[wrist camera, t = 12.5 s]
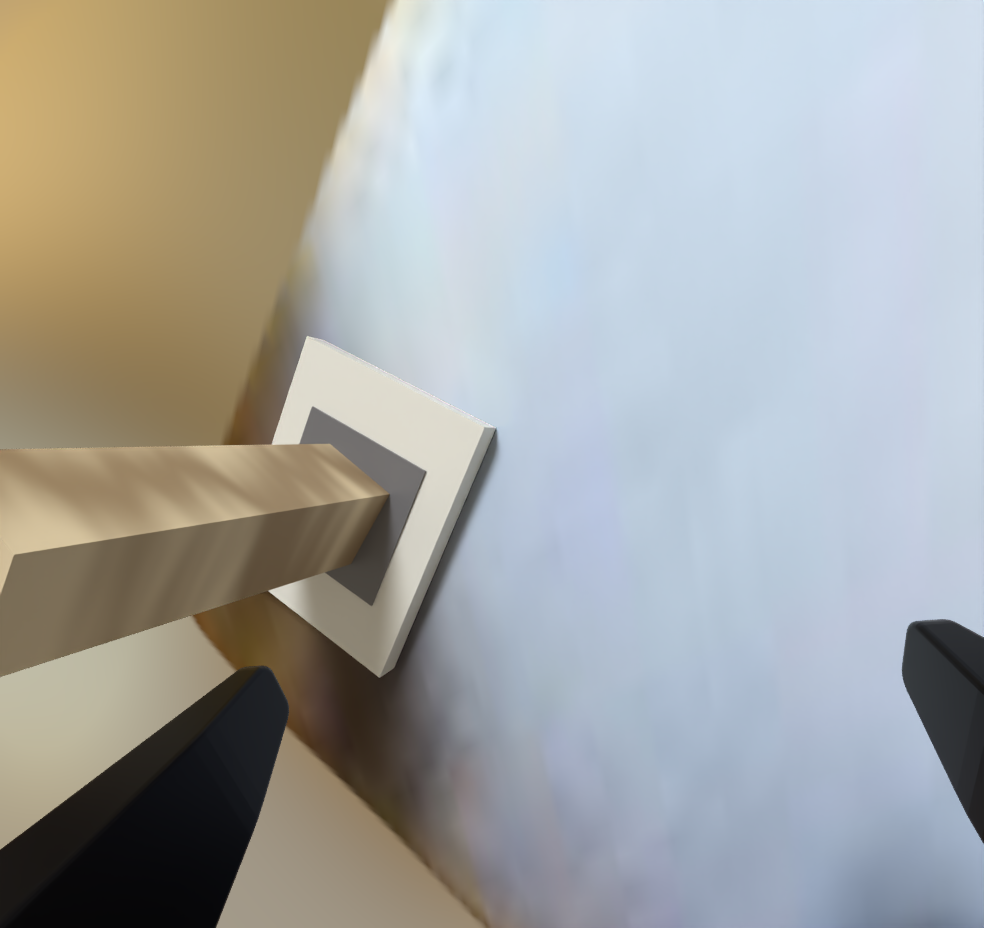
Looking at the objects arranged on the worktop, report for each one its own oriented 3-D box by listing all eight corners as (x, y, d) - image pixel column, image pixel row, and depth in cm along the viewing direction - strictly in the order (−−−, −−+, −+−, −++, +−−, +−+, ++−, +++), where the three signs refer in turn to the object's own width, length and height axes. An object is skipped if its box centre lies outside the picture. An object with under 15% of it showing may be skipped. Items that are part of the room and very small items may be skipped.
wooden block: (389, 494, 21) (13, 554, 10) (351, 563, 22) (-31, 686, 11) (329, 443, 22) (-66, 450, 11) (295, 512, 23) (-101, 578, 12)
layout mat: (324, 340, 24) (305, 335, 23) (496, 427, 20) (483, 427, 19) (250, 558, 26) (230, 563, 25) (394, 668, 23) (377, 678, 22)
